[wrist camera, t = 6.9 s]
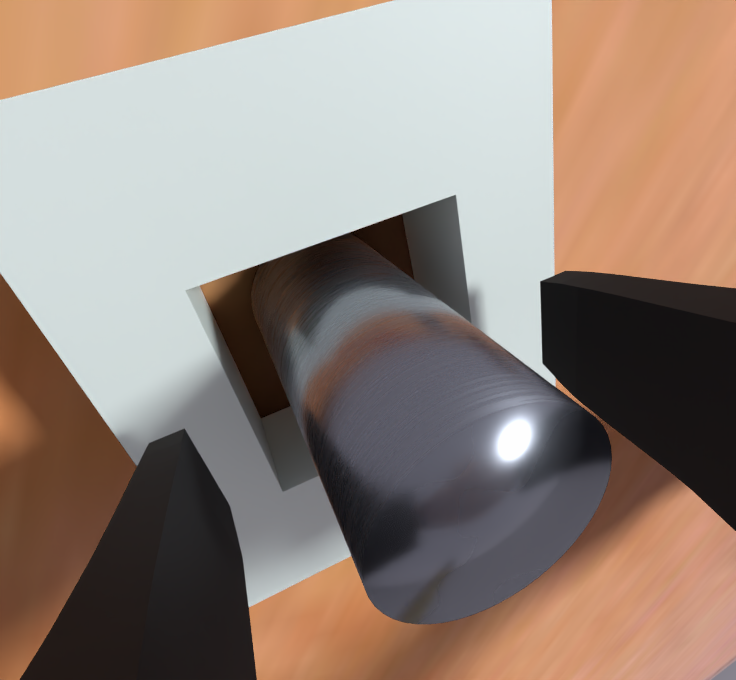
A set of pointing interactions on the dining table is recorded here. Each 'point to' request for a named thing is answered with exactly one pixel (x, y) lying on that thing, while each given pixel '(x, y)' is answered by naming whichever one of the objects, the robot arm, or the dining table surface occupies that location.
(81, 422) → the dining table surface
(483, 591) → the pin long
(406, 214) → the board
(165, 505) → the robot arm
